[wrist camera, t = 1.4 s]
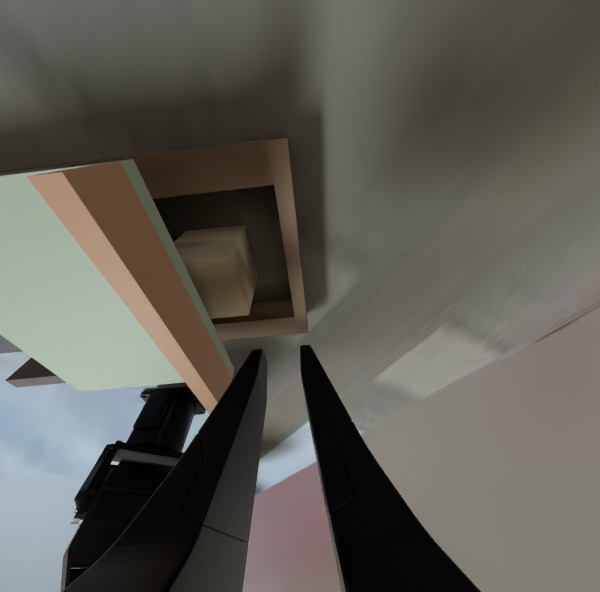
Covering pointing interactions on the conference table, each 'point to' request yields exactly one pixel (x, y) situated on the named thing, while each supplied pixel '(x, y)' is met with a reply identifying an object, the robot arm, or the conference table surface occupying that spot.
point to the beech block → (220, 268)
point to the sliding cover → (102, 284)
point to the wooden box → (211, 178)
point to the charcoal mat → (7, 346)
